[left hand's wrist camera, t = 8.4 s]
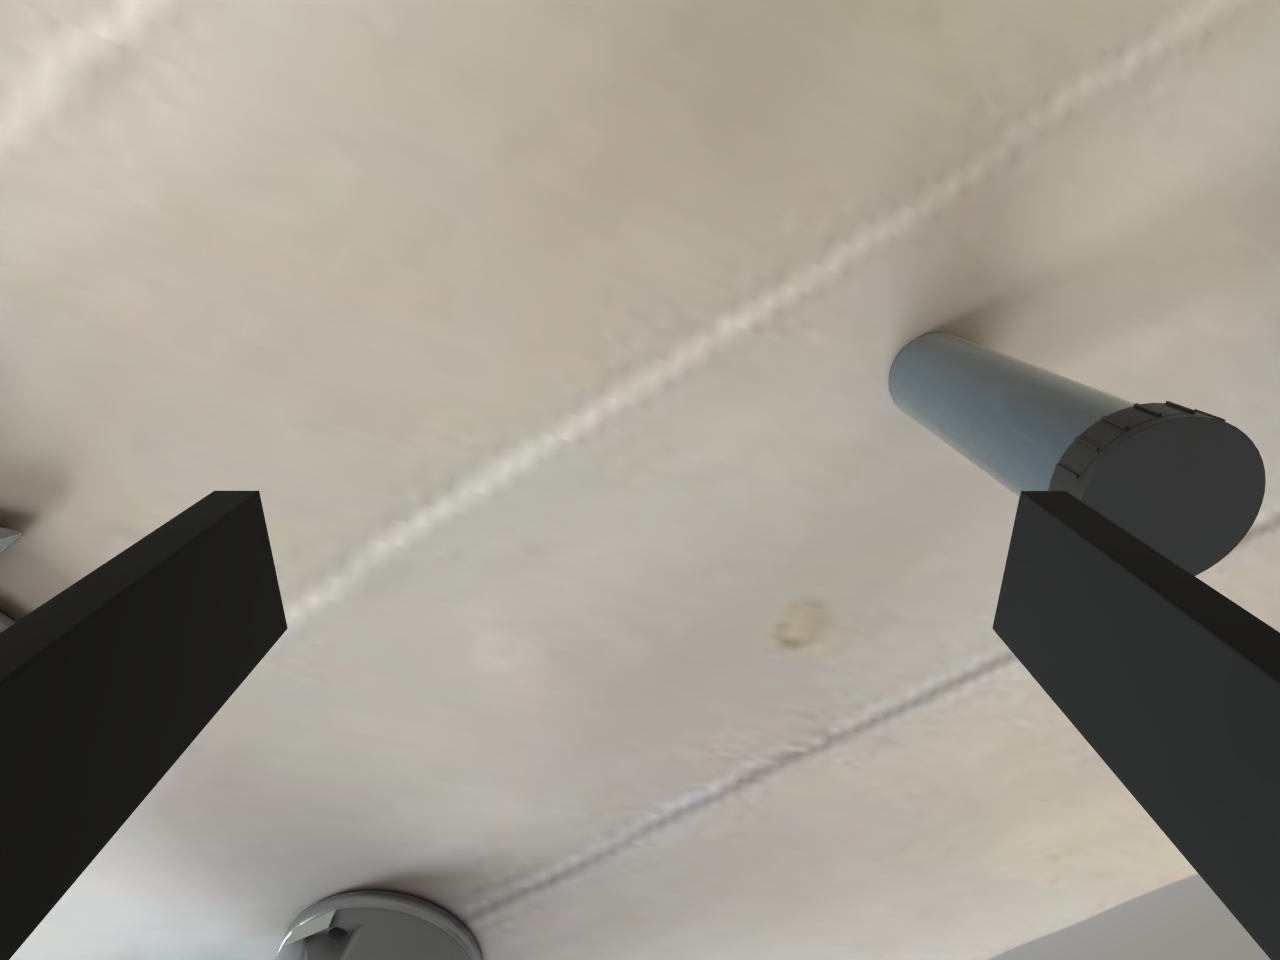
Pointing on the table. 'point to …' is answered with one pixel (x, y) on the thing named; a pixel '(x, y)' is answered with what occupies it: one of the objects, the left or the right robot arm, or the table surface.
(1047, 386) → the grey cylindrical flask
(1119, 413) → the lid
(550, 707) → the table surface
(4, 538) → the decorative piece
